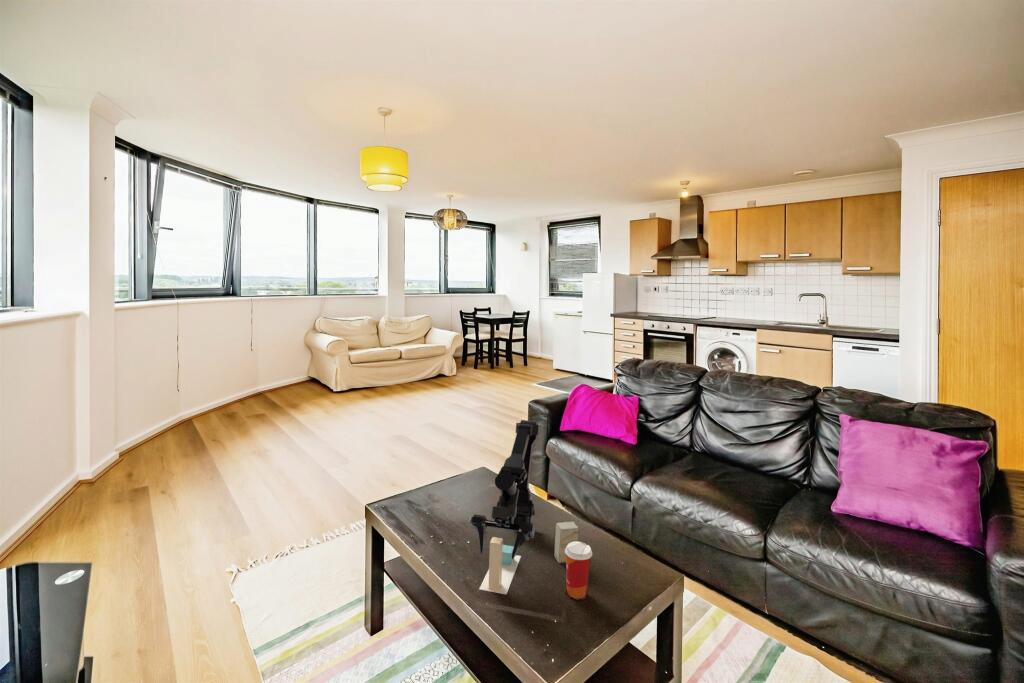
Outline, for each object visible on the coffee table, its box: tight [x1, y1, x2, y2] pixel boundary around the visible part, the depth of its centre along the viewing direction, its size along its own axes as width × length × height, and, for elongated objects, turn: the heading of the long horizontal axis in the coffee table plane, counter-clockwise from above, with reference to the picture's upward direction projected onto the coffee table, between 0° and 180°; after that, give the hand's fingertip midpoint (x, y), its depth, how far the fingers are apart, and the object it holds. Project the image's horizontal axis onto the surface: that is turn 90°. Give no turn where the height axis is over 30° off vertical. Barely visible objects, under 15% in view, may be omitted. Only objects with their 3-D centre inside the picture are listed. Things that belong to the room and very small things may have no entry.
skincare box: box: [553, 520, 579, 564], centre depth 149 cm, size 6×4×12 cm
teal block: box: [502, 544, 514, 566], centre depth 146 cm, size 4×4×4 cm
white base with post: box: [478, 536, 522, 595], centre depth 140 cm, size 20×8×15 cm, turn 167°
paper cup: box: [565, 541, 593, 598], centre depth 133 cm, size 8×8×14 cm
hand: (496, 556), depth 134 cm, fingers open, 9 cm apart
